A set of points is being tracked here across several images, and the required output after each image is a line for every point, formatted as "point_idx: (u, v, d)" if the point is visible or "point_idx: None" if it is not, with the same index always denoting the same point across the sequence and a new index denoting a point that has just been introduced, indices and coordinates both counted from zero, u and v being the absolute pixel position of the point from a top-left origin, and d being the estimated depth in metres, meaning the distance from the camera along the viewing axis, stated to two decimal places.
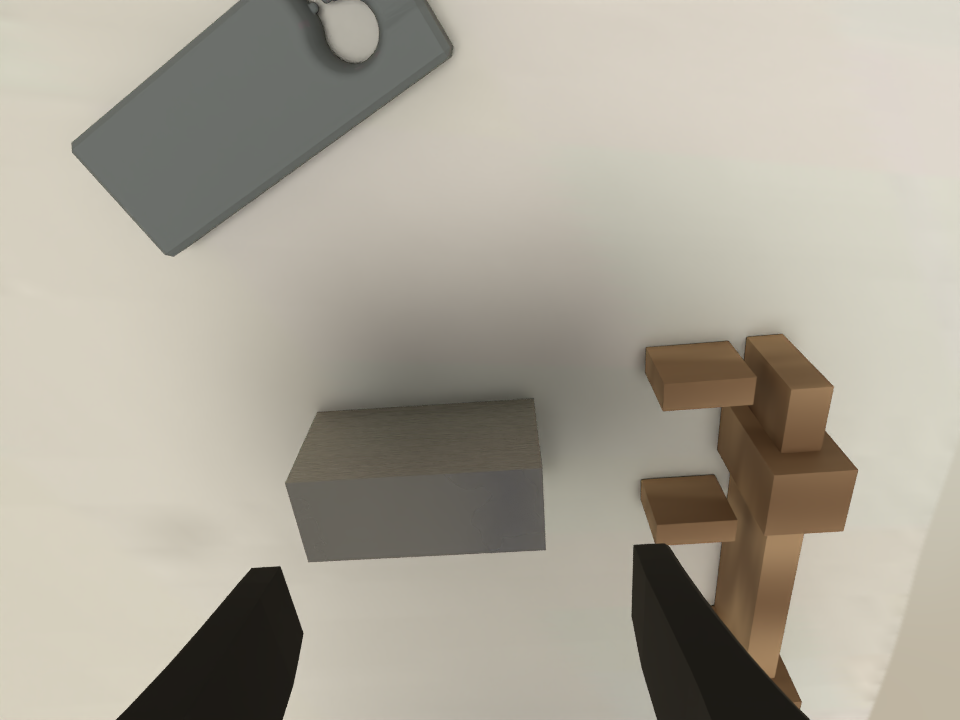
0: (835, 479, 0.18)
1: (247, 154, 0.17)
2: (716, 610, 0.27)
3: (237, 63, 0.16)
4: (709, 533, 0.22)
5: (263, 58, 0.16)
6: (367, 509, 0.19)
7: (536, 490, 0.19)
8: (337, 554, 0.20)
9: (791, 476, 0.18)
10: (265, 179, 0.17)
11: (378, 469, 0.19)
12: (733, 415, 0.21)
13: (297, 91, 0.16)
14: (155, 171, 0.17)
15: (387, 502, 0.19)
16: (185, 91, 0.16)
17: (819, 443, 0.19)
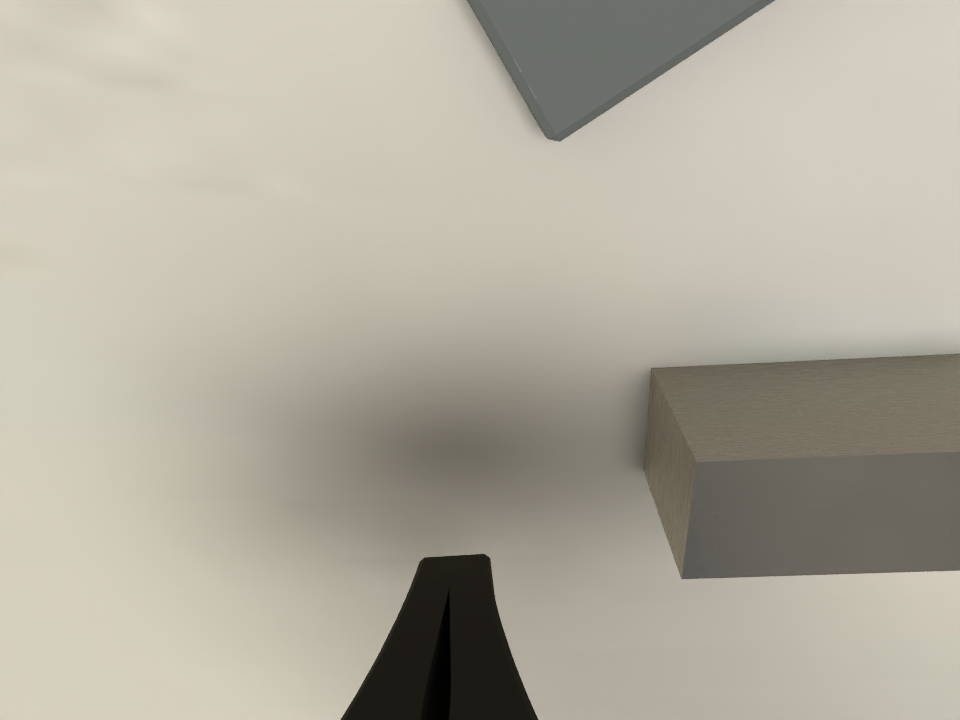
0: None
1: None
2: None
3: None
4: None
5: None
6: (803, 503, 0.13)
7: None
8: (728, 568, 0.14)
9: None
10: (745, 6, 0.11)
11: (829, 445, 0.13)
12: None
13: None
14: None
15: (838, 493, 0.13)
16: None
17: None
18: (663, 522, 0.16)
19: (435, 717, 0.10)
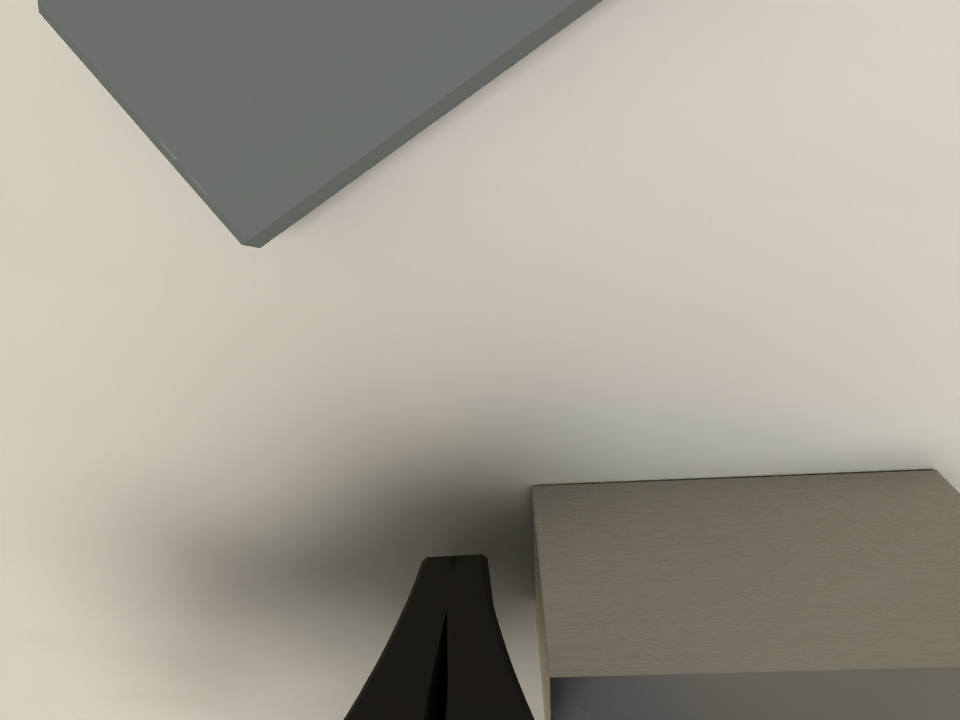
0: None
1: (446, 4, 0.07)
2: None
3: None
4: None
5: None
6: None
7: None
8: None
9: None
10: (479, 66, 0.08)
11: (744, 647, 0.09)
12: None
13: None
14: (230, 52, 0.07)
15: (758, 714, 0.09)
16: None
17: None
18: None
19: (438, 717, 0.10)
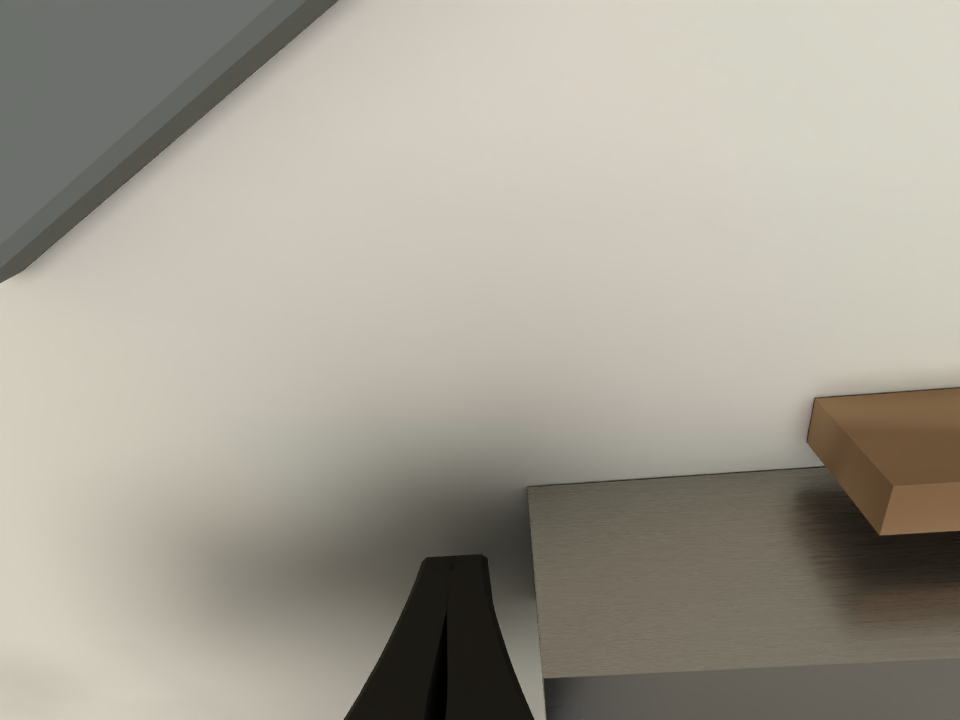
0: None
1: (71, 79, 0.08)
2: None
3: None
4: None
5: None
6: None
7: None
8: None
9: None
10: (119, 135, 0.08)
11: (738, 643, 0.09)
12: None
13: None
14: None
15: (753, 710, 0.09)
16: None
17: None
18: None
19: (438, 717, 0.10)
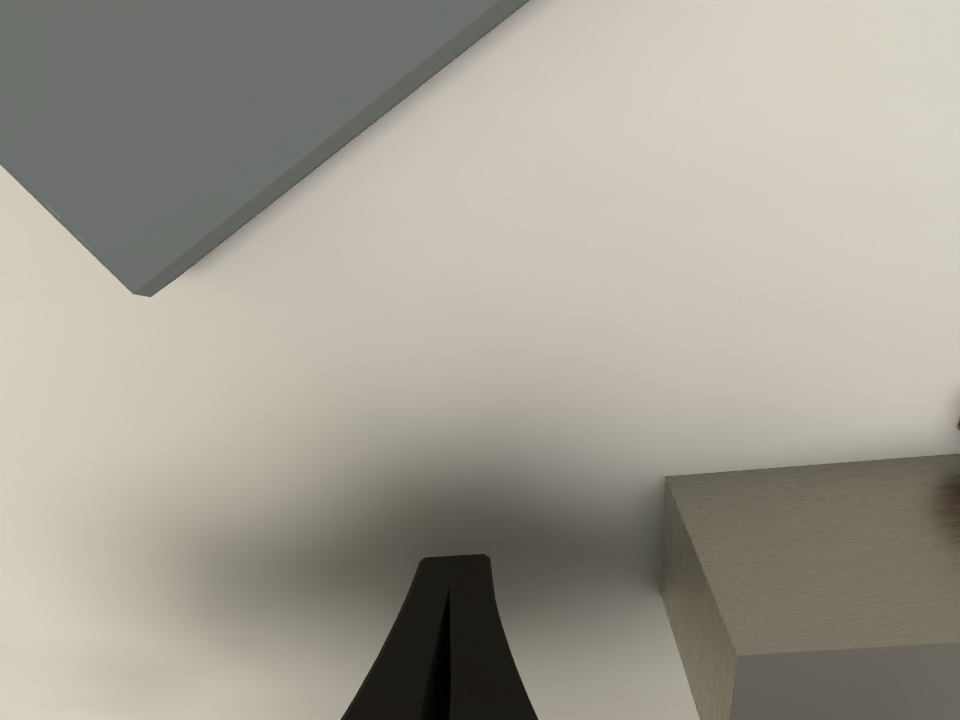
0: None
1: (297, 70, 0.08)
2: None
3: None
4: None
5: None
6: (892, 698, 0.09)
7: None
8: None
9: None
10: (336, 126, 0.08)
11: (928, 619, 0.09)
12: None
13: None
14: (99, 119, 0.08)
15: (942, 686, 0.09)
16: None
17: None
18: (690, 685, 0.12)
19: (435, 717, 0.10)
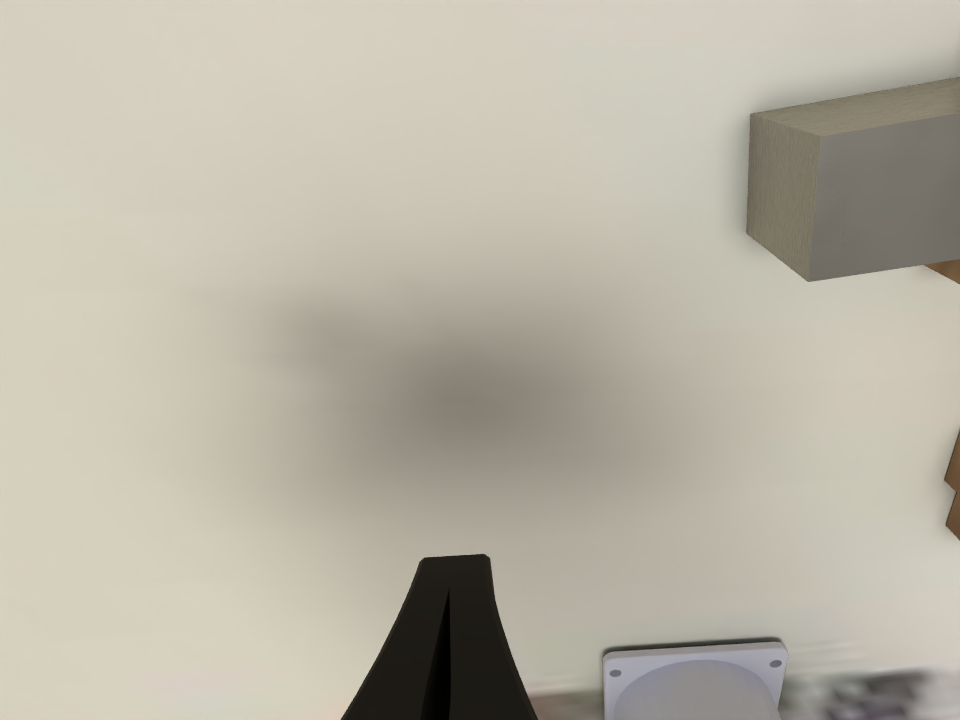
0: None
1: None
2: None
3: None
4: None
5: None
6: (927, 174, 0.14)
7: None
8: (853, 264, 0.15)
9: None
10: None
11: (949, 110, 0.13)
12: None
13: None
14: None
15: None
16: None
17: None
18: (778, 253, 0.16)
19: (435, 717, 0.10)
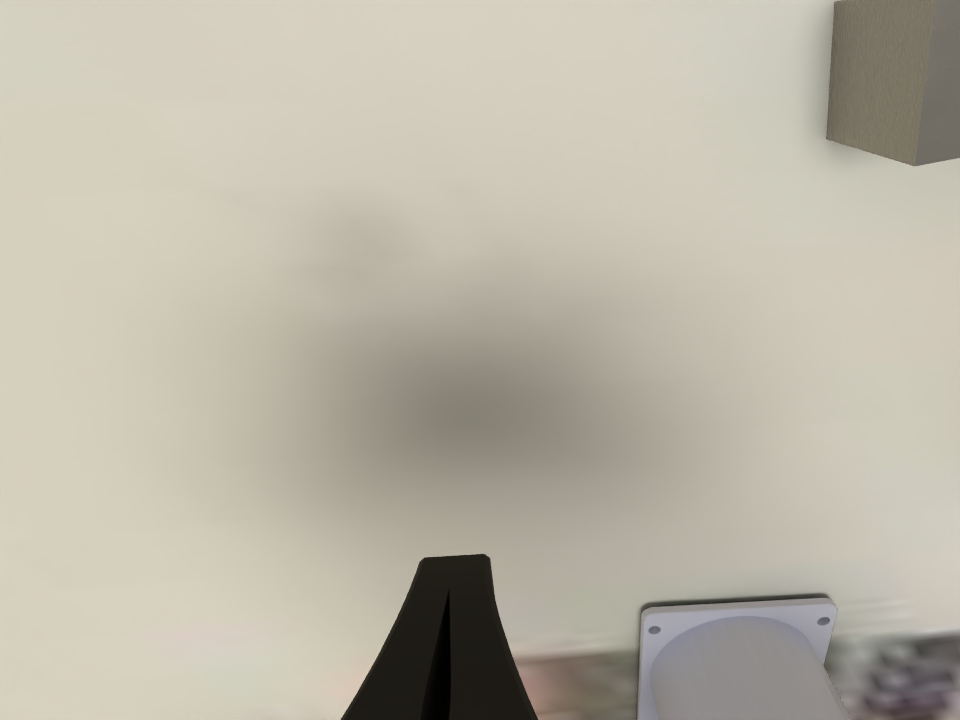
0: None
1: None
2: None
3: None
4: None
5: None
6: None
7: None
8: None
9: None
10: None
11: None
12: None
13: None
14: None
15: None
16: None
17: None
18: (872, 146, 0.15)
19: (435, 717, 0.10)
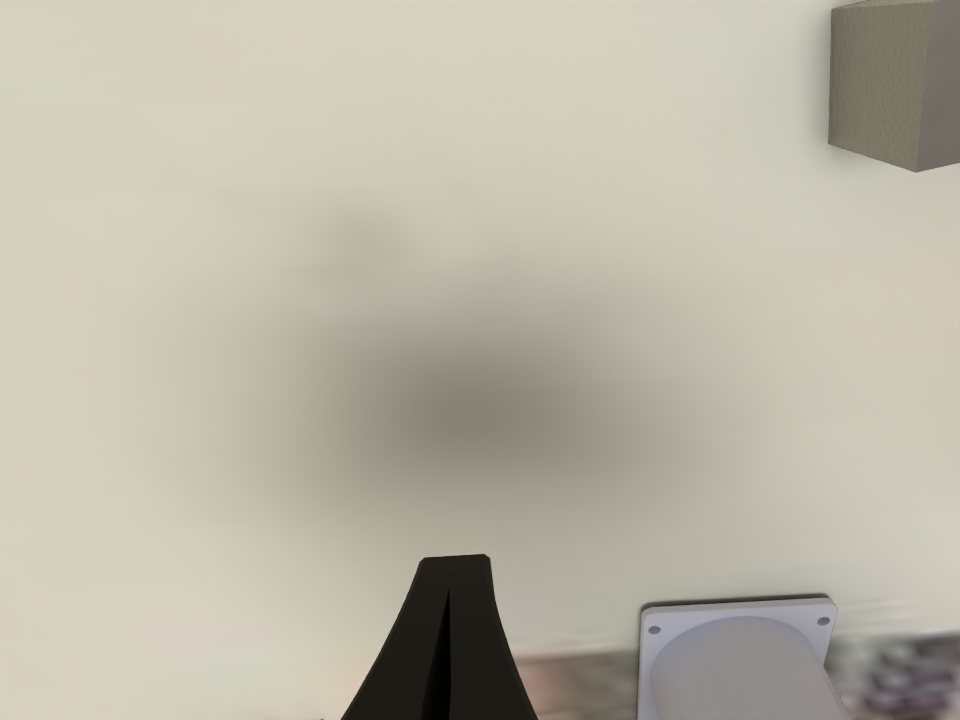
0: None
1: None
2: None
3: None
4: None
5: None
6: None
7: None
8: None
9: None
10: None
11: None
12: None
13: None
14: None
15: None
16: None
17: None
18: (874, 152, 0.15)
19: (435, 717, 0.10)
